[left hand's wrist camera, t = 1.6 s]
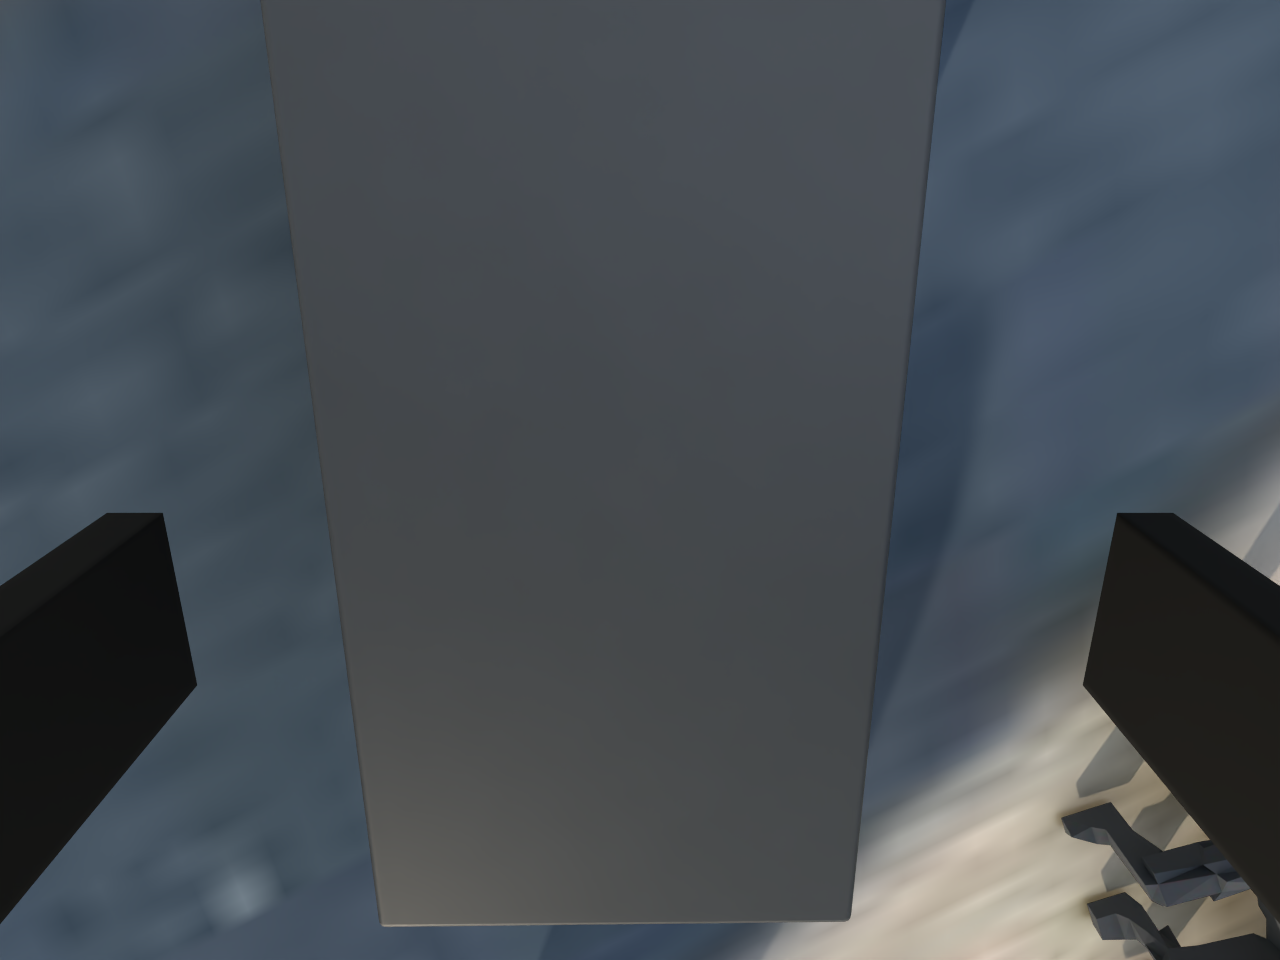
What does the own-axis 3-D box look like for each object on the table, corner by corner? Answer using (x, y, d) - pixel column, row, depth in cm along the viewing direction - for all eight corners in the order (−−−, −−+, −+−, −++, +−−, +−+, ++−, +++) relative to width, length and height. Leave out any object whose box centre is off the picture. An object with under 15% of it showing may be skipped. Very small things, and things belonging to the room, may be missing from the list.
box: (740, 543, 23) (851, 925, 12) (501, 544, 23) (377, 929, 12) (783, -478, 16) (1157, -1986, 5) (442, -481, 16) (-7, -2017, 5)
